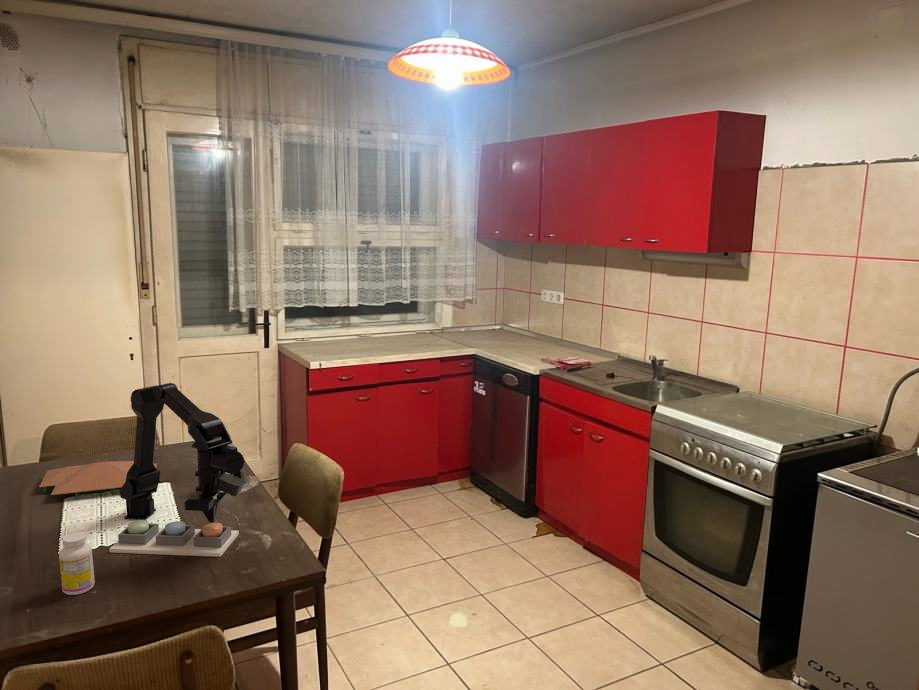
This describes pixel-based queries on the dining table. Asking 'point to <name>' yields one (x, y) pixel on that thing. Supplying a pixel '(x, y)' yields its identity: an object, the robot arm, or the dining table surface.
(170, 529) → the slate blue button
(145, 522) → the sage button
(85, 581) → the supplement bottle
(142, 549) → the button panel
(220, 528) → the terracotta button
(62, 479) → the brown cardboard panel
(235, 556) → the dining table surface
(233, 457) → the robot arm
